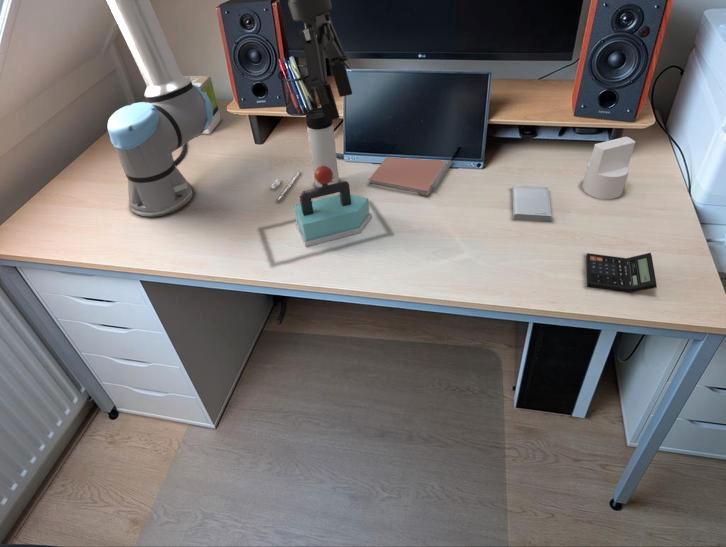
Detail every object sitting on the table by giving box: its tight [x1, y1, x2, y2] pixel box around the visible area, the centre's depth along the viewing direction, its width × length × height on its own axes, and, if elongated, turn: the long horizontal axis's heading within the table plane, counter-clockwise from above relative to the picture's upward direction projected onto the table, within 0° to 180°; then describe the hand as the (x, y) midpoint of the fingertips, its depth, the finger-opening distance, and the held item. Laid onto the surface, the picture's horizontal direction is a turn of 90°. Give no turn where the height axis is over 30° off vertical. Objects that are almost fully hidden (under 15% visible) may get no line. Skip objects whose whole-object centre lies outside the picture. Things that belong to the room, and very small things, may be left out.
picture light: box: [270, 171, 300, 201], centre depth 133 cm, size 14×4×2 cm, turn 163°
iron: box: [294, 166, 373, 248], centre depth 113 cm, size 17×9×16 cm, turn 110°
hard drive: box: [511, 184, 553, 223], centre depth 121 cm, size 2×8×12 cm
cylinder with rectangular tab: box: [581, 136, 636, 200], centre depth 120 cm, size 9×9×12 cm
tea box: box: [184, 75, 222, 135], centre depth 159 cm, size 15×10×15 cm
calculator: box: [585, 252, 658, 294], centre depth 101 cm, size 9×12×3 cm
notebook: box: [368, 156, 455, 197], centre depth 137 cm, size 27×17×2 cm, turn 155°
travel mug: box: [305, 106, 340, 188], centre depth 127 cm, size 6×7×20 cm
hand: (339, 106), depth 105 cm, fingers open, 13 cm apart
